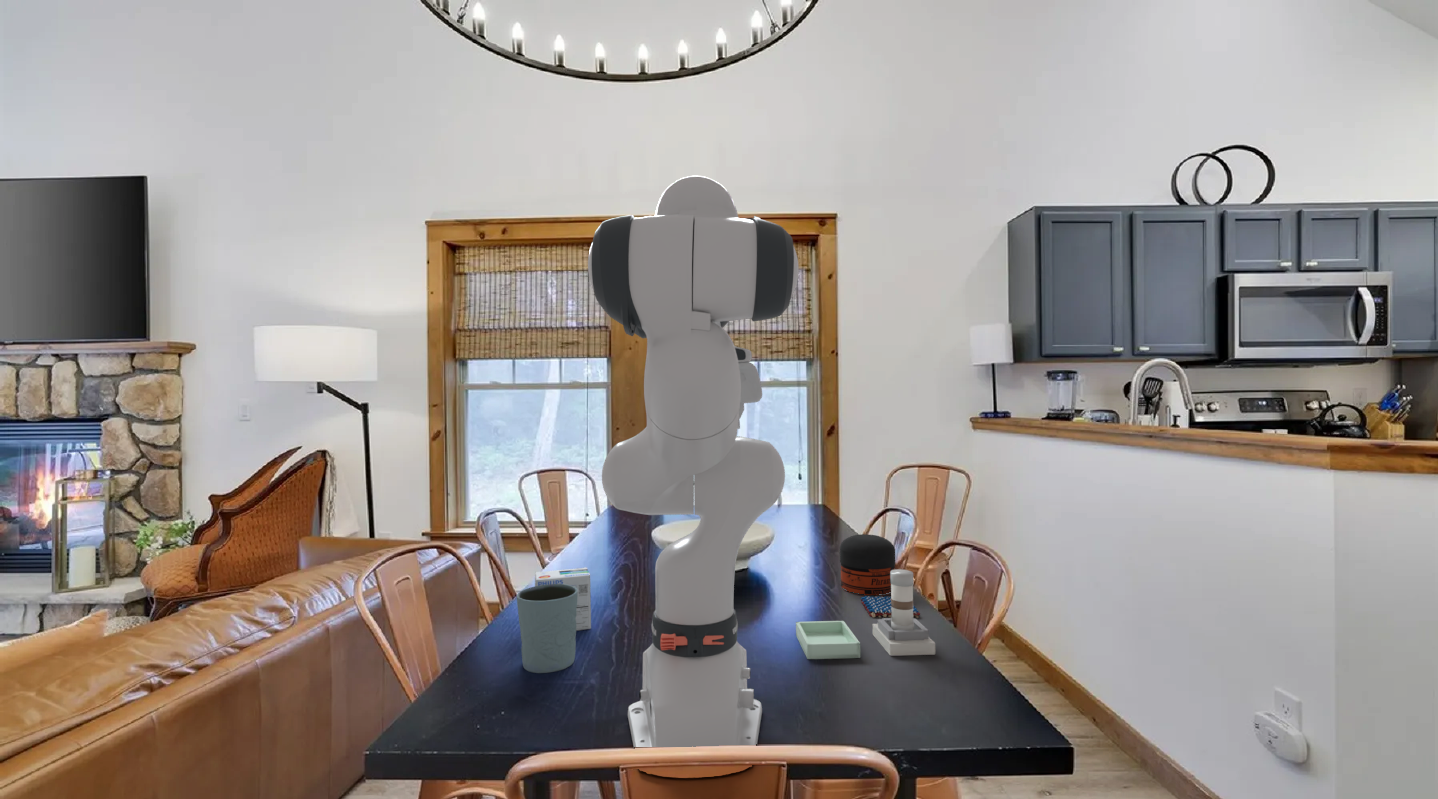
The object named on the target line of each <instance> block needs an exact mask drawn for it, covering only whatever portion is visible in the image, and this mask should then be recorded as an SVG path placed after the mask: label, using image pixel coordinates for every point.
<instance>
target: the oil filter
mask: <svg viewBox="0 0 1438 799" xmlns="http://www.w3.org/2000/svg"><path fill="white" fill-rule="evenodd" d="M839 563H840V588H841V587H842V588H844V589H846V590H847V591H849V592H848V593H850V592H854V593H859V594H864V595H863V596H866V595H879V594H886V593H889V592H891V580H890V571H891V570H896V568H895V566H896V548H895V545H894V544H893V543H892V542H891V541H889V540H888V539H887V538H886V537H882V536H880V535H876V534H868V533H865V534H860V533H859V534H855V535H850V536H847V537H846V538H844V539H843V540H842V542H841V543H840V545H839ZM842 588H841V589H842ZM847 591H846V592H847Z"/></svg>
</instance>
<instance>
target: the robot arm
mask: <svg viewBox="0 0 1438 799" xmlns="http://www.w3.org/2000/svg"><path fill="white" fill-rule="evenodd" d="M738 214H739V213H738V210H737V208H736V205H735V202H734V200H733V197H732V195H731V194H730V192H729V191H728V190H727V189H726V187H724V186H723V185H722V184H721V183H719V182H718V181H716V180H714V179H712V178H711V177H706V176H703V175H690V176H685V177H682V178H680V179H677V180H676V181H674V182H673V183H671V184H670V185H669V186H668V187H666V189H665V190H664V191H663V192H662V194H661V197H660V198H659V200H658V203H657V206H656V210H655V214H654V215H648V216H640V217H635V216H634V215H633V214H627V215H622V216H617V217H614V218H609V219H607V220H604V221H602V222H601V224H600V225H599V226H598V227H597V229H596V230H595V231H594V233H593V239H592V242H591V245H590V248H589V254H588V258H587V271H588V277H589V282H590V285H591V287H592V289H593V293H594V296H595V299H596V301H597V303H598V305H599V306H600V307H601V308H602V309H603V311H604V312H605V313H606V314H607V315H608V316H609V317H610V318H611V319H613V320H614V321H615V322H617V323H619V324H621V325H623V330H624V332H625V334H626V335H628V336H631V337H634V336H635V335H636V336H638V337H639V338H641V339H647V340H646V341H647V342H646V357H645V358H646V359H645V364H644V365H645V366H644V376H643V398H644V406H645V413H646V427H644V428H643V430H641V431H640V432H639V433H637V434H636V435H634V436H633V437H630V438H628V439H625V440H623V441H620V442H617V443H616V444H615V445H614V446H612V448H611V449H610V451H609V452H608V453H607V455H606V457H605V459H604V462H603V466H602V470H601V483H602V488H603V491H604V493H605V496H606V498H607V500H608V501H609V503H611V505H612V506H613V507H614V508H615V509H617V510H619V511H625V512H629V513H634V514H640V515H648V516H659V515H660V516H663V515H664V516H668V515H669V516H671V515H673V516H677V515H680V516H681V515H695V516H698V517H699V518H700V521H699V523H698V525H697V527H696V528H694V530H693V531H692V532H690V533H688V534H686V535H685V536H683V537H681V538H678V539H677V540H675V541H673V542H671V543H670V544H668V545H667V546H666V547H664V549H663V550H662V551H661V552H660V553H659V555H658V557H657V559H656V562H655V569H654V570H655V582H654V583H655V610H654V611H653V612H652V621H651V633H652V634H651V636H652V638H651V641H652V643H651V644H650V646H649V647H647V649H645V650H644V651H643V652H642V689H639V690H640V691H638V695H639V696H638V698H639V699H640V700H639V701H638V700H637V701H636V702H633V703H632V704H630V705H628V708H627V709H628V710H627V718H628V724H629V729H630V734H631V740H632V745H633V748H634V747H692V746H693V747H696V746H719V745H756V744H757V745H758V740H759V733H760V727H761V720H762V714H763V708H762V707H763V706H762V703H761V702H760V701H759V699H758V700H757V699H756V698H754V696H755V694H754V689H753V688H748V679H751V668H750V667H748V664H747V663H748V662H747V660H748V659H747V649H746V648H744V647H743V646H742V645H741V644H740V643H739V642H738V628H739V626H738V625H739V624H738V623H739V622H738V619H737V611H736V609H734V593H735V592H734V590H735V588H734V587H735V586H734V585H735V574H736V572H735V571H736V564H737V562H736V561H737V558H738V553H739V549H740V547H741V544H742V542H743V539H744V538H745V536H746V534H747V532H748V531H749V529H750V528H751V526H752V525H753V524H754V523H755V521H757V519H758V518H759V517H760V516H762V515H763V514H764V513H765V512H766V511H768V510H769V509H770V508H772V506H774V505H775V503H777V501H778V499H779V498H780V496H781V494H782V492H783V489H784V486H785V481H786V471H785V466H784V461H783V459H782V457H781V455H780V453H779V452H778V450H777V449H776V448H775V446H774V445H773V444H772V443H771V442H769V441H766V440H761V439H755V438H751V437H746V436H745V437H744V436H739V435H738V430H739V429H741V422H740V419H741V417H742V415H743V413H744V411H745V404H752V403H759V402H760V401H761V399H762V397H763V389H762V383H761V382H762V381H761V379H760V375H759V371H758V368H757V367H756V365H755V364H753V363H752V358H753V354H752V351H751V350H750V349H748V348H743V347H739V346H735V344H734V341H733V340H732V338H731V336H730V335H729V333H728V332H727V331H726V330H725V329H724V327H726V325H727V324H728V323H729V322H733V321H741V320H749V319H751V321H752V322H760V321H765V320H770V319H775V318H778V317H780V316H782V314H784V313H785V311H786V310H788V308H789V306H790V305H791V299H792V298H793V295H794V294H795V292H796V287H797V284H798V281H799V280H798V279H799V271H800V270H799V268H800V266H799V260H798V255H797V251H796V249H795V246H794V240H793V237H792V235H790V234H789V233H788V231H786V229H785V228H784V227H782V226H781V225H780V224H777V223H775V222H772V221H768V220H765V219H761V218H760V216H755V215H754V216H753V217H749V218H740V217H739V215H738Z"/></svg>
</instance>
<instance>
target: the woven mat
mask: <svg viewBox="0 0 1438 799" xmlns="http://www.w3.org/2000/svg"><path fill="white" fill-rule="evenodd" d="M860 602H861V604H862V605H863V606H864V609H865V610H866V611H867V613H868V616H869V617H871V618H877V617H878V618H882V617H883V618H892V615H891V596H887V595H884V597H883V596H866V595H864V596H863V597H861V598H860ZM885 612H886V613H885ZM920 615H921V613H920V612H919V610H918V609H917V608H916V606H915V605H913V618H914V617H915V618H919V616H920Z"/></svg>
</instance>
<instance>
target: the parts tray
mask: <svg viewBox="0 0 1438 799" xmlns="http://www.w3.org/2000/svg"><path fill="white" fill-rule="evenodd" d="M795 636H796V638H797V640H798V642H799V644H800V647H801V649H802V651H803V653H804V655H805V656H806V659H807V660H833V659H861V642H860V641H859V640H858V638H857V637H856V635H855V634H854V633H853V631H852V630H851V629H850V627H849V626H848V625H847V623H846V622H845V621H844V620H823V621H822V620H819V621H815V620H814V621H795Z"/></svg>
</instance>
